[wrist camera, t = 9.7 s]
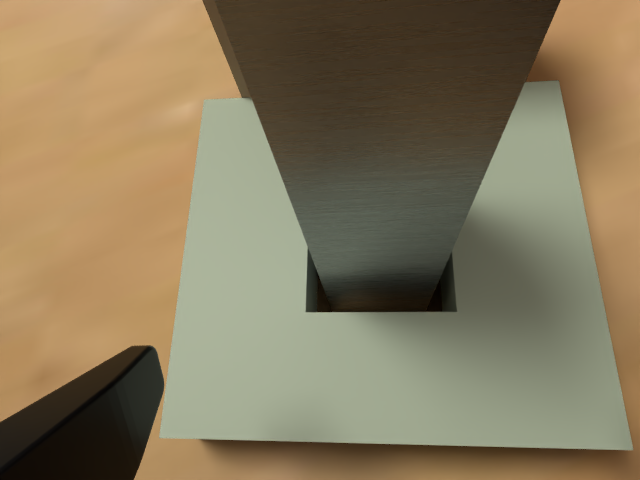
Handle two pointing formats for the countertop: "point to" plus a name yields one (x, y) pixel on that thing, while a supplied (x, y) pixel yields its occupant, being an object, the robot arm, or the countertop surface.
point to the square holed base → (393, 327)
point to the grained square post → (384, 125)
